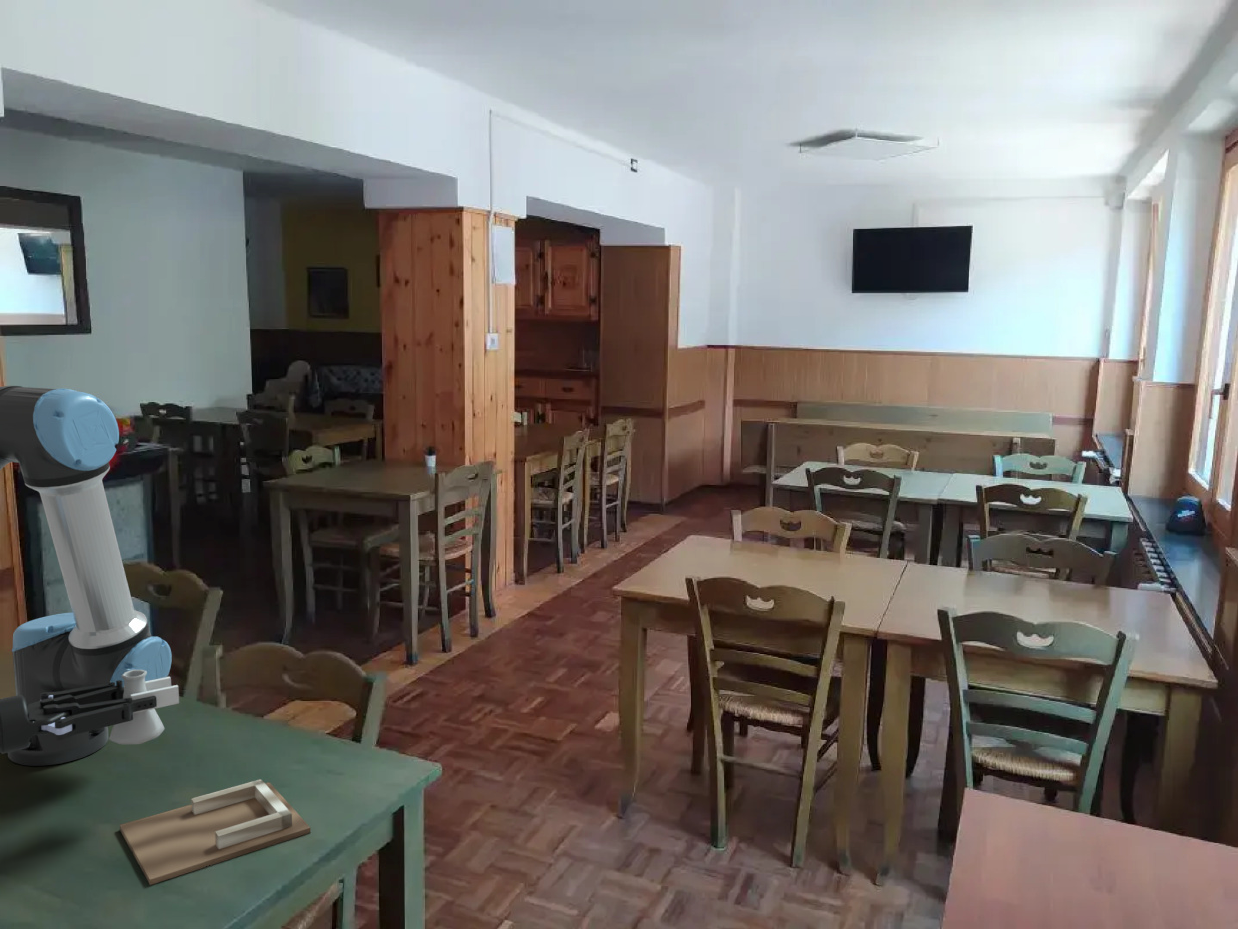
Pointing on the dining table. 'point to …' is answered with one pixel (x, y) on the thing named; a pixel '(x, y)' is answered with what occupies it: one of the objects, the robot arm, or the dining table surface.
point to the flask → (137, 715)
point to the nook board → (212, 830)
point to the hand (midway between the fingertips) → (173, 689)
